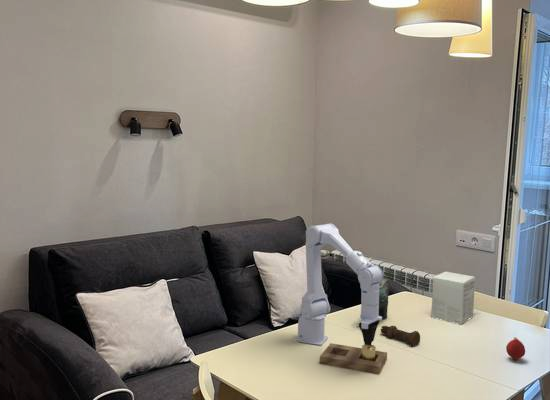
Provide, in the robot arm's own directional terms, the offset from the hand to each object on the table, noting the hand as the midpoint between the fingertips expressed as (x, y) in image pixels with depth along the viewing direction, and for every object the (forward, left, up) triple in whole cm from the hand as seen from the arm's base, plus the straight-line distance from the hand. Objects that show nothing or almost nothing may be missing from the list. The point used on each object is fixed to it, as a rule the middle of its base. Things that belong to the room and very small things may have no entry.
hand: (368, 342), depth 172 cm
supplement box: (+22, +59, -8) cm, 63 cm away
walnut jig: (-5, 0, -7) cm, 9 cm away
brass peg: (0, 0, -7) cm, 7 cm away
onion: (+45, +23, -8) cm, 51 cm away
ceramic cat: (-6, +39, -8) cm, 40 cm away
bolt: (+6, +25, -8) cm, 27 cm away
